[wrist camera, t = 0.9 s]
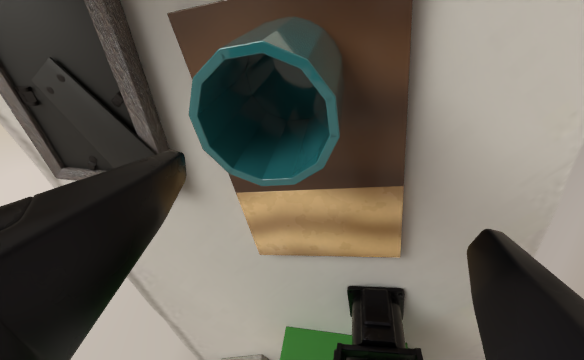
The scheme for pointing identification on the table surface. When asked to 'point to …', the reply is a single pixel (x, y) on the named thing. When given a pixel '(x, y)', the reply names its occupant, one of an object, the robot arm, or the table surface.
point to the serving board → (353, 134)
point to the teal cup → (271, 102)
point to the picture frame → (77, 85)
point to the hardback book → (311, 344)
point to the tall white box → (248, 358)
